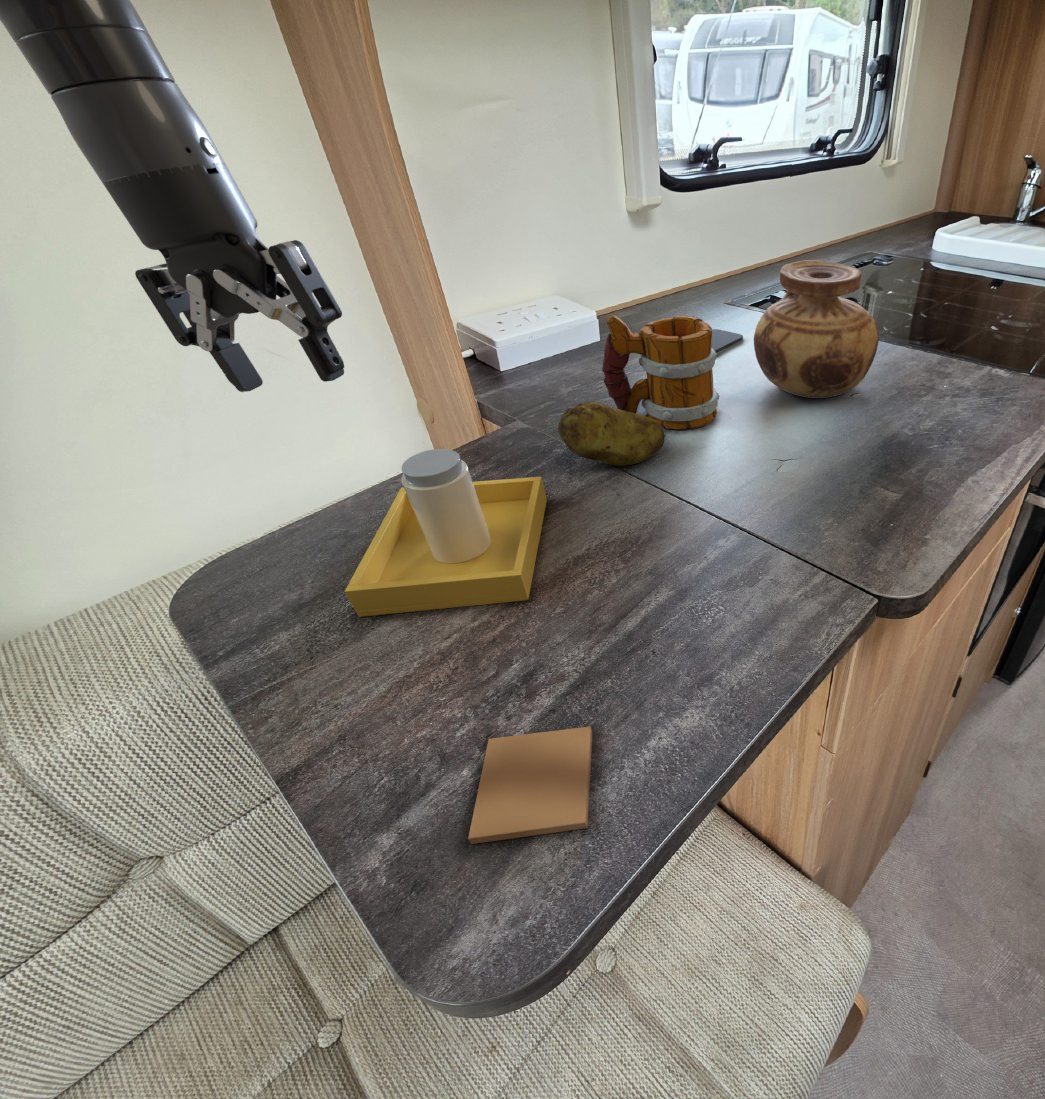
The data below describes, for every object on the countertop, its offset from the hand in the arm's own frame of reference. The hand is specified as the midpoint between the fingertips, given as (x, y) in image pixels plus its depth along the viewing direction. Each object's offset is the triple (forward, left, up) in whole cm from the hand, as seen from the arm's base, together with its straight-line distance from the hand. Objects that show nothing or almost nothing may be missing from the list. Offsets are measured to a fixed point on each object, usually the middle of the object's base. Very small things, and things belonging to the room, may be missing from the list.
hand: (293, 383), depth 52 cm
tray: (-2, -10, -19) cm, 21 cm away
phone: (+54, -42, -19) cm, 71 cm away
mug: (+27, -33, -19) cm, 46 cm away
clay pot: (+34, -57, -19) cm, 69 cm away
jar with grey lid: (-2, -10, -18) cm, 20 cm away
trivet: (-30, -20, -19) cm, 41 cm away
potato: (+15, -26, -19) cm, 35 cm away
